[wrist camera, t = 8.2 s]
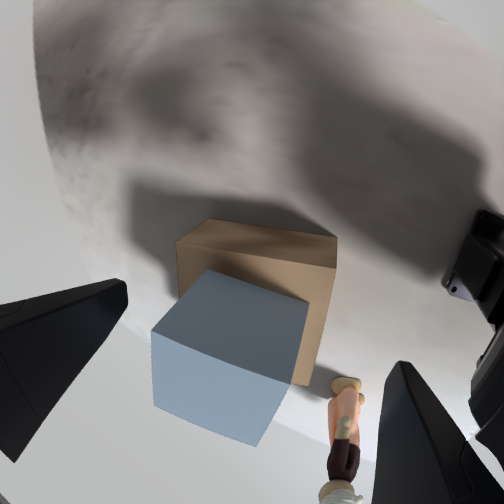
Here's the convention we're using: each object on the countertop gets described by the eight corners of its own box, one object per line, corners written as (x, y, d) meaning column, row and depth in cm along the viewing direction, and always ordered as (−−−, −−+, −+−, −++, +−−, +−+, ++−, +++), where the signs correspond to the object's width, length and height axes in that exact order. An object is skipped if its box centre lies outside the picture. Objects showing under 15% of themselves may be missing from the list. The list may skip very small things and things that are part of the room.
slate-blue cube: (309, 303, 16) (290, 384, 10) (280, 373, 18) (256, 447, 13) (207, 268, 17) (150, 330, 11) (197, 342, 19) (153, 405, 14)
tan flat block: (337, 236, 19) (336, 269, 15) (316, 341, 23) (308, 386, 18) (210, 217, 21) (175, 242, 17) (211, 319, 25) (185, 356, 20)
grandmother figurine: (314, 375, 24) (283, 507, 13) (355, 363, 22) (343, 505, 11) (342, 421, 25) (324, 532, 14) (378, 412, 24) (371, 528, 13)
